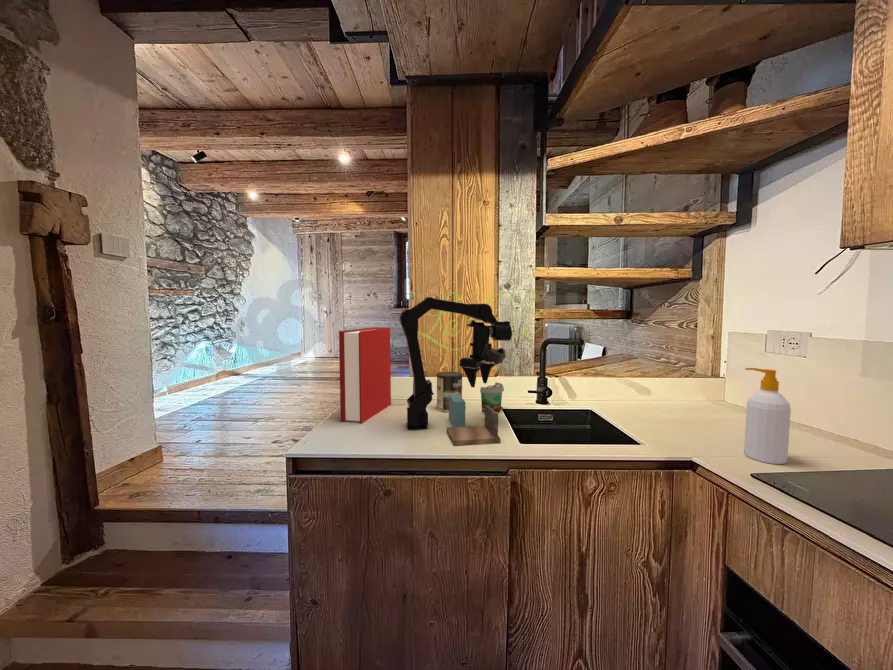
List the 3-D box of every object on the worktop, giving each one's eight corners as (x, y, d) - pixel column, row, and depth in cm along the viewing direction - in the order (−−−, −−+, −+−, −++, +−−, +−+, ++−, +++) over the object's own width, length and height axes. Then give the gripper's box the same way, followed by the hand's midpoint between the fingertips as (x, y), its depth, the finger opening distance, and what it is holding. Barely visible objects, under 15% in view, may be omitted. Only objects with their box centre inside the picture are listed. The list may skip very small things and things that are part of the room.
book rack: (453, 445, 103) (453, 417, 102) (446, 432, 115) (446, 406, 114) (500, 442, 105) (500, 414, 105) (488, 429, 117) (488, 404, 116)
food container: (493, 415, 132) (494, 389, 132) (479, 412, 136) (480, 387, 135) (509, 408, 142) (509, 383, 142) (495, 406, 146) (496, 382, 145)
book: (361, 423, 123) (360, 331, 121) (340, 422, 125) (338, 330, 122) (392, 403, 149) (391, 327, 147) (374, 402, 151) (373, 327, 149)
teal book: (454, 429, 118) (454, 402, 117) (448, 419, 128) (448, 394, 128) (465, 428, 118) (465, 401, 118) (458, 418, 129) (458, 394, 128)
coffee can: (467, 407, 144) (467, 373, 143) (453, 413, 135) (453, 377, 134) (445, 403, 149) (445, 370, 148) (431, 409, 141) (431, 374, 140)
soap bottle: (741, 448, 102) (746, 365, 100) (787, 457, 95) (793, 369, 93) (738, 457, 95) (743, 369, 94) (787, 467, 89) (793, 373, 87)
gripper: (490, 343, 110) (488, 393, 111) (513, 340, 126) (511, 384, 127) (459, 341, 116) (457, 388, 117) (484, 338, 132) (482, 380, 133)
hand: (479, 385), depth 123 cm, fingers open, 9 cm apart
